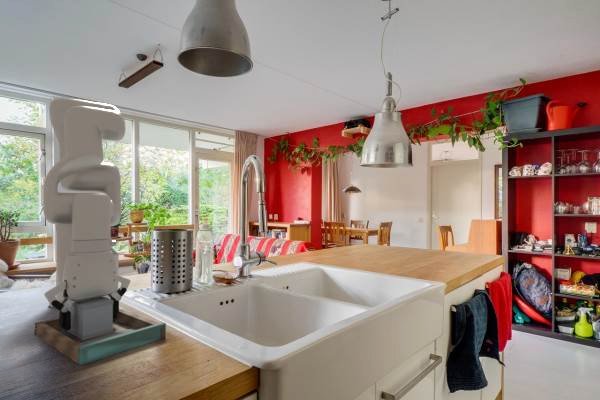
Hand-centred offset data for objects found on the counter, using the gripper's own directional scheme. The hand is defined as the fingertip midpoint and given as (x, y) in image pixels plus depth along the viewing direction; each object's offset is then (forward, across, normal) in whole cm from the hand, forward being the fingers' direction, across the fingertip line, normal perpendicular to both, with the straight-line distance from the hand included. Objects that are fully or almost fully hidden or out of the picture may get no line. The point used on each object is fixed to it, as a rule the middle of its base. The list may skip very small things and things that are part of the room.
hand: (90, 323), depth 77 cm
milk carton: (+2, -8, -15) cm, 17 cm away
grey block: (+2, 0, 0) cm, 2 cm away
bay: (+2, 0, +4) cm, 5 cm away
